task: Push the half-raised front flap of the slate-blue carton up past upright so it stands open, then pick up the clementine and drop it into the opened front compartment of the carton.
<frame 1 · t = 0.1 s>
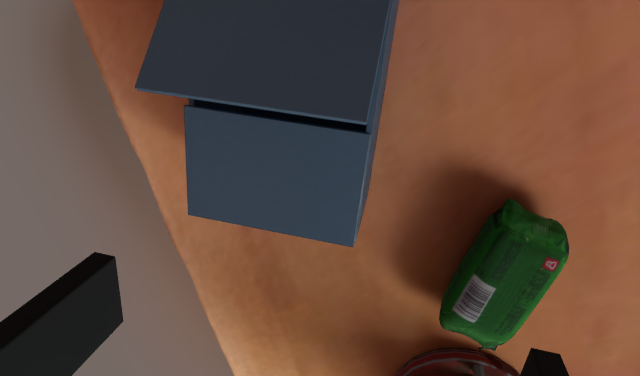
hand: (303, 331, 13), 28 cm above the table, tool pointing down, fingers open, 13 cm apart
snack package: (492, 264, 41), on the table
carton: (307, 93, 39), on the table
flap: (264, 36, 25), point 13 cm above the table, hinge at 38.0°
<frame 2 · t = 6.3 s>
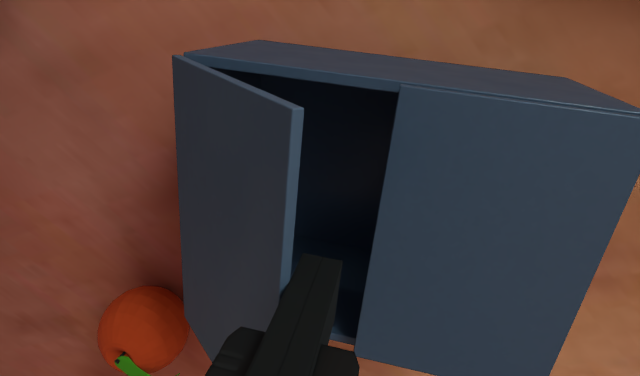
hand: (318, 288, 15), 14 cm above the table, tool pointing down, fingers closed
carton: (385, 165, 28), on the table
flap: (223, 249, 17), point 13 cm above the table, hinge at 41.4°, touching gripper
clementine: (173, 304, 37), on the table
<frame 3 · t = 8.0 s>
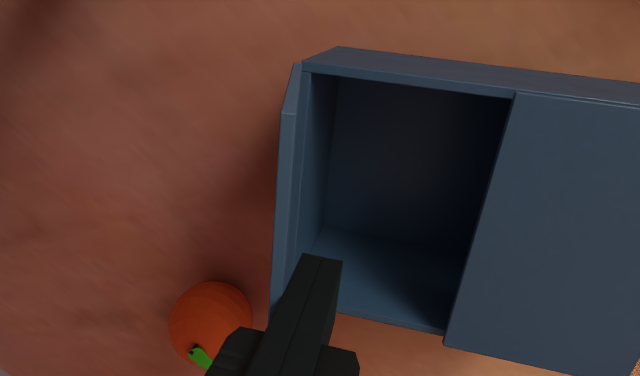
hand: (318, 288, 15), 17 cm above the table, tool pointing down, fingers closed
carton: (454, 165, 29), on the table
flap: (282, 249, 17), point 15 cm above the table, hinge at 76.4°, touching gripper
clementine: (233, 299, 38), on the table
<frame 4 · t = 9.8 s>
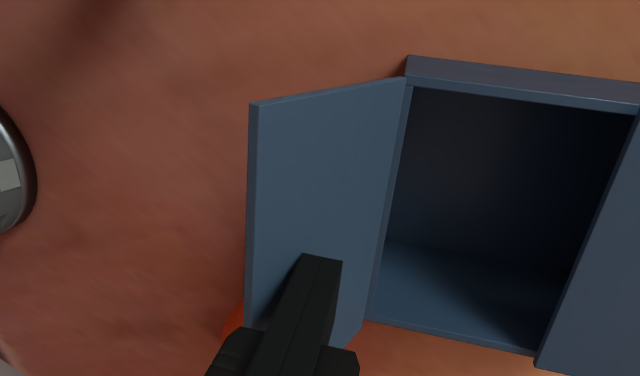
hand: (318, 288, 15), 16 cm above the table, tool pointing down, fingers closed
carton: (525, 177, 28), on the table
flap: (326, 256, 17), point 14 cm above the table, hinge at 113.2°, touching gripper
clementine: (281, 311, 38), on the table
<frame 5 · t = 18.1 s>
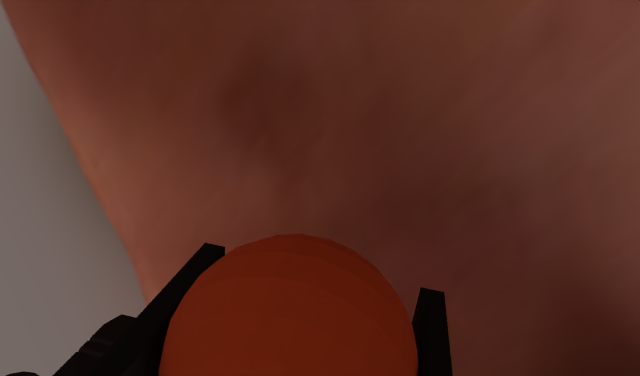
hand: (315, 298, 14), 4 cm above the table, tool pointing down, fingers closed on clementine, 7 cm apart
clementine: (309, 289, 15), point 4 cm above the table, touching gripper
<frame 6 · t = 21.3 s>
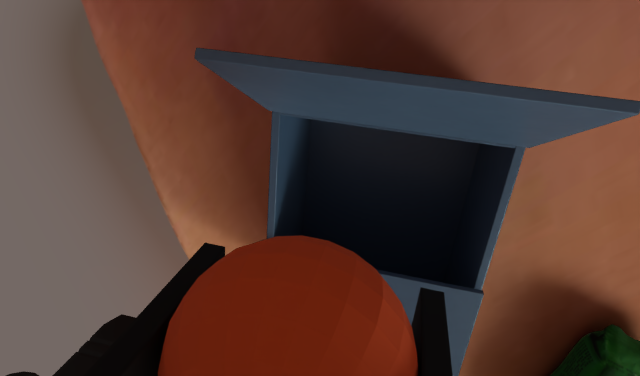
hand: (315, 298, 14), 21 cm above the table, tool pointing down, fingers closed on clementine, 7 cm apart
carton: (381, 201, 35), on the table
flap: (395, 107, 17), point 14 cm above the table, hinge at 113.5°
clementine: (308, 290, 15), point 20 cm above the table, touching gripper
when the fingers open (10 cm above the table, at t = 25.5 s): clementine stays where it is, resting on carton.
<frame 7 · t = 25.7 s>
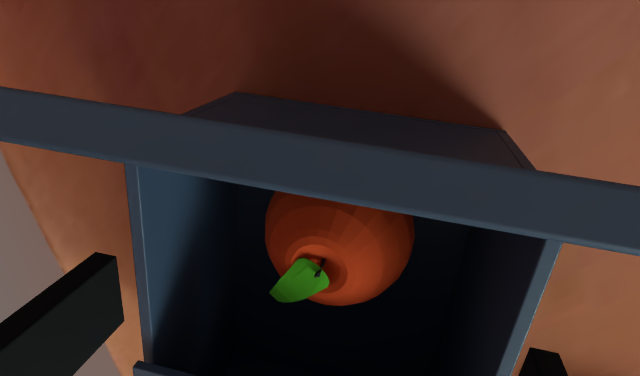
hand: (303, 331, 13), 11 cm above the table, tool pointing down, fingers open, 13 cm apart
carton: (341, 261, 25), on the table
flap: (288, 172, 7), point 14 cm above the table, hinge at 113.5°
clementine: (348, 200, 23), resting on carton
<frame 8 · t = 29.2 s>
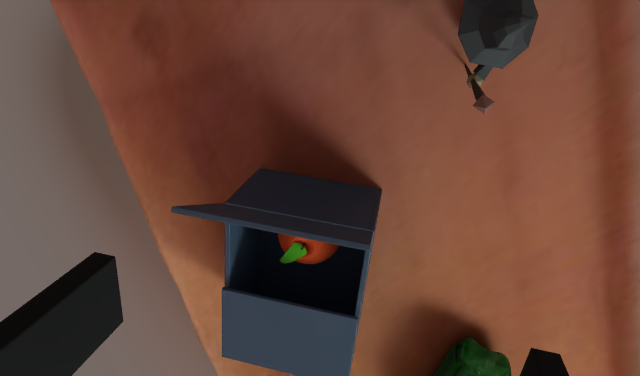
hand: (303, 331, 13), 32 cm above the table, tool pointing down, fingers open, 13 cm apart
snack package: (458, 375, 52), on the table
carton: (312, 249, 49), on the table
flap: (283, 222, 32), point 14 cm above the table, hinge at 113.5°
clementine: (314, 218, 47), resting on carton
wizard figurine: (482, 38, 37), on the table
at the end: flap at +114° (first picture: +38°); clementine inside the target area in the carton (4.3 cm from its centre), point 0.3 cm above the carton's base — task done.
